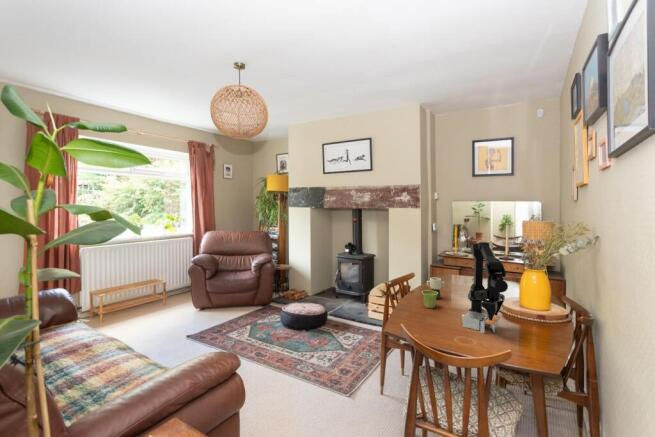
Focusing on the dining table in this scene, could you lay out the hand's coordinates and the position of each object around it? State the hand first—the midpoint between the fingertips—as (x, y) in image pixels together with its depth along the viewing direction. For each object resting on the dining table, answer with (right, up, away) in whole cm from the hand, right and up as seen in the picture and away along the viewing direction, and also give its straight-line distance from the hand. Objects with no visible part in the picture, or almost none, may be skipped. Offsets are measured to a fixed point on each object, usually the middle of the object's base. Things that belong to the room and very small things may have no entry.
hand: (493, 317), depth 163 cm
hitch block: (-4, -6, +4) cm, 9 cm away
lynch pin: (-6, -6, +6) cm, 10 cm away
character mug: (-11, -3, +53) cm, 54 cm away
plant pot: (-20, -5, +37) cm, 42 cm away
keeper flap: (-1, -2, +1) cm, 2 cm away
